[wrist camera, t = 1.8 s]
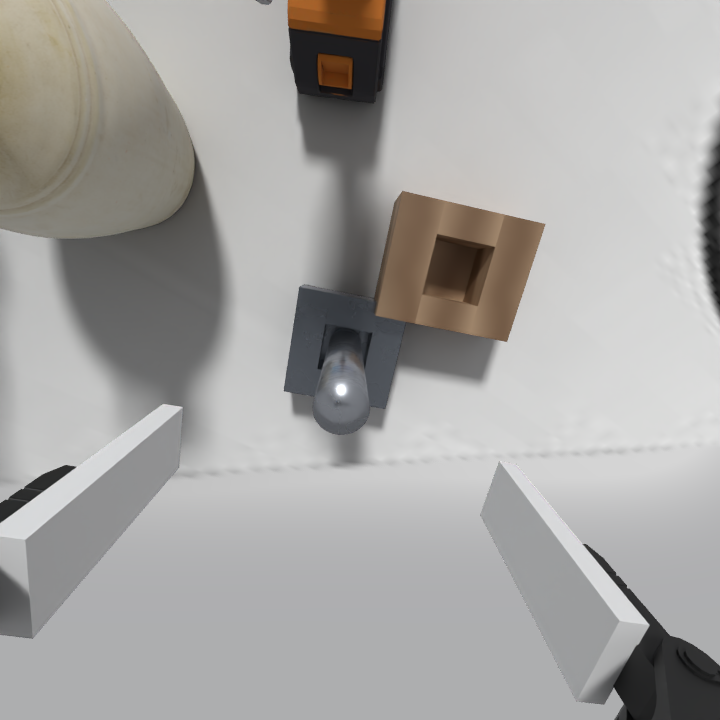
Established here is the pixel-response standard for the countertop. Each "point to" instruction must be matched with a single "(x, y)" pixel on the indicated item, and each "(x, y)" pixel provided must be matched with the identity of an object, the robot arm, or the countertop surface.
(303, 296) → the socket block
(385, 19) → the power drill
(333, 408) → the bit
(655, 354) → the countertop surface
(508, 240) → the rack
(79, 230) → the jug
